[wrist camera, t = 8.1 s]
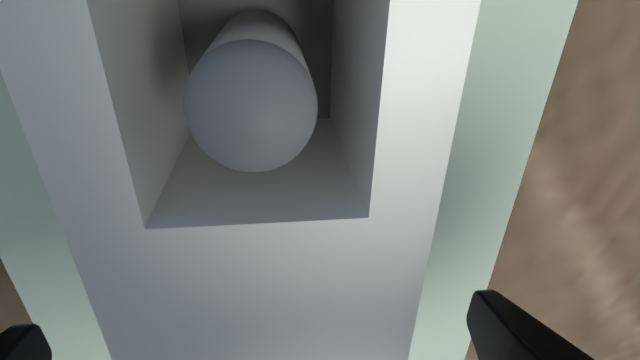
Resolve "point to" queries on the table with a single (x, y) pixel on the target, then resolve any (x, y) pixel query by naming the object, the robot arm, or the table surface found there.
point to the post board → (292, 136)
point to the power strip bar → (241, 181)
